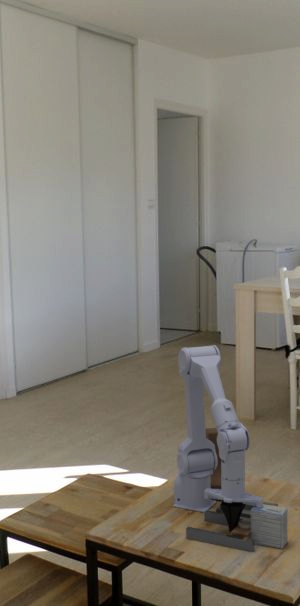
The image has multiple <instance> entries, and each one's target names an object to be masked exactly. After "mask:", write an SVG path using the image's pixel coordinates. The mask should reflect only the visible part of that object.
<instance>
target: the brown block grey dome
mask: <svg viewBox="0 0 300 606" xmlns="http://www.w3.org/2000/svg"><path fill="white" fill-rule="evenodd" d="M230 533H231V534H230V535H233V536H238V537H243V538H245V537H248V539H251V519H245V518H244V519H243V520H240V521H238V525H237V526H236V527H235V529H234V530H233V531H232V532H230Z"/></svg>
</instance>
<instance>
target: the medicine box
mask: <svg viewBox="0 0 300 606" xmlns="http://www.w3.org/2000/svg"><path fill="white" fill-rule="evenodd" d="M288 532H289V531H288V508H287V507H284V506H279V505H278V506H272V505H266V504H263V506H262V507H261V508H257V507H256V506H254V507H253V508H252V509H251V539H253V540H254V545H259V546H266V547H272V548H277V549H282V550H283V549H284V548H285V546H286V544H287V543H288V541H289V540H288V538H289V537H288V535H289V533H288Z"/></svg>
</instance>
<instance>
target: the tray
mask: <svg viewBox="0 0 300 606" xmlns="http://www.w3.org/2000/svg"><path fill="white" fill-rule="evenodd" d="M263 504H266V505H272V506H278V507H279V503H274V502H268V501H263ZM253 507H254V506H252V505H247V504H246V505H245V507H244V509H243V511H242V513H241V517H246V518H251V509H252V508H253ZM215 510H216V511H215V512H219V513H223V511H222V510H221V508H220V504H219V505H218V506H217V507H216V509H215Z"/></svg>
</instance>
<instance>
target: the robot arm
mask: <svg viewBox="0 0 300 606" xmlns="http://www.w3.org/2000/svg"><path fill="white" fill-rule="evenodd" d="M221 359H222V356H221V351H220V348H218V346H217V345H215V344H212V345H203V346H194V347H193V346H192V347H182V348H181V349H180V351H179V353H178V355H177V361H178V363H177V364H178V372H179V373H178V374H179V377H180V378H183V379H184V382H183V383H184V396H185V397H184V398H185V411H186V412H185V414H186V416H185V417H186V434H187V437H186V438H185V439H184V440H183V441H182V442H181V443H179V445H178V448H177V456H176V465H177V469H178V472H177V473H176V475H175V478H174V485H173V489H174V490H173V494H174V497H173V499H174V501H173V502H174V504H173V505H172V506H173V508H179V509H184V510H190V511H194V512H199V513H205V511H206V510H208V511H210V509H211V508H212V507H213V506H214V505H215V504H216V503H217V501H221V503H220V504H219V505H220V508H221V510H222V511H223V513H224V515H225V517H226V520H227V523H228V531H229V532H230V533H231V532H232V531H233V530H234V529H235V527H236V526H237V525H238V521H239V519H240V516H241V513H242V511H243V509H244V507H245V505H246V504H247V505H252V506H256V507H257V508H261V507H262V506H263V502H264V498H263V497H261V496H257V495H255V494H252V493H249V492H246V451H248V449H249V448H250V443H251V442H250V441H251V439H250V435H249V431H248V428H246V427H245V426H244V424H243V423H242V422H240V421H239V417H238V415H237V411H236V410H235V407H234V404H233V402H232V401H231V400H229V399H227V398H226V395H225V394H226V393H225V391H224V386H223V383H222V379H221V375H220V368H221V362H222V360H221ZM204 389H205V390H206V392H207V394H208V396H209V399H210V401H211V403H212V404H211V406H210V409H209V410H210V413H211V414H210V415H211V416H212V420H213V423H214V425H215V428H217V431H218V436H217V445H218V448H219V456H220V458H221V489H211V474H213V471H214V470H215V469H216V467H217V463H218V459H217V455H216V451H215V445H214V444H213V443H212V442H211V441H210V440H208V439H207V438H206V416H205V411H206V410H205V396H204ZM211 498H213V499H218V500H211Z"/></svg>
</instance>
